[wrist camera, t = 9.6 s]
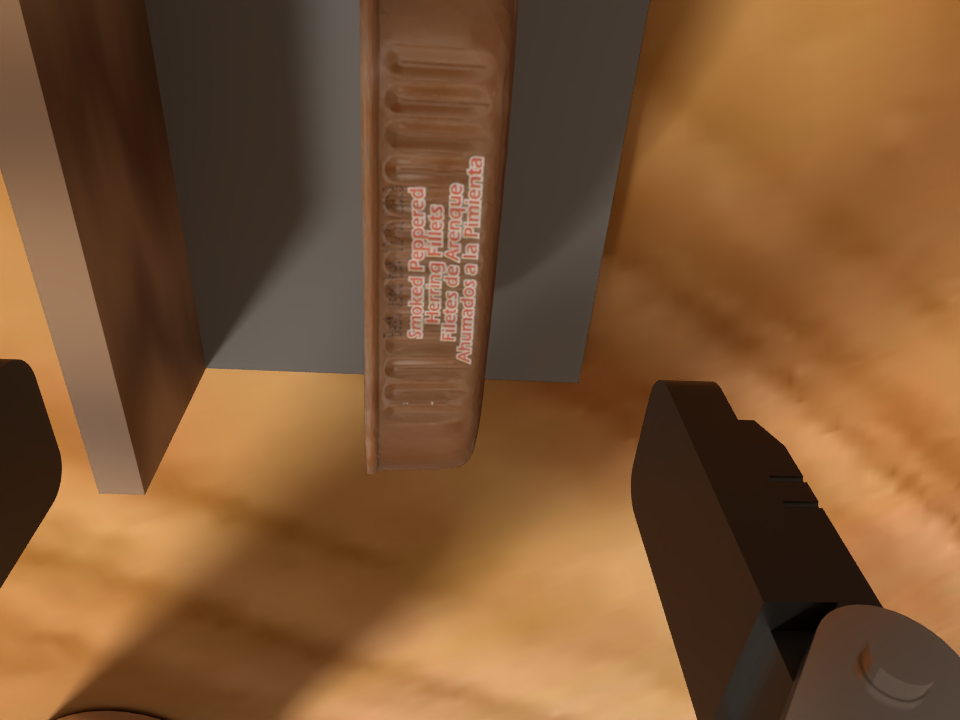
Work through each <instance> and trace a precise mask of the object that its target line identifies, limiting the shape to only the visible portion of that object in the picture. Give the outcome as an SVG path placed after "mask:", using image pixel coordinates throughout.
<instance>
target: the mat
mask: <svg viewBox="0 0 960 720" xmlns="http://www.w3.org/2000/svg"><path fill="white" fill-rule="evenodd" d="M649 2H650V0H518V18H517V35H516V52H515V67H514V78H513V88H512V99H511V112H510V124H509V136H508V151H507V161H506V170H505V179H504V193H503V206H502V216H501V226H500V236H499V247H498V257H497V267H496V277H495V289H494V298H493V307H492V315H491V328H490V336H489V344H488V352H487V364H486V372H485V379H493V380H518V381H543V382H568V383H579V379H580V374H581V369H582V363H583V358H584V352H585V347H586V342H587V336H588V331H589V325H590V320H591V315H592V309H593V304H594V298H595V293H596V288H597V282H598V277H599V271H600V266H601V261H602V255H603V250H604V245H605V239H606V234H607V228H608V223H609V218H610V212H611V207H612V201H613V196H614V191H615V185H616V180H617V174H618V169H619V164H620V158H621V153H622V147H623V142H624V137H625V131H626V126H627V121H628V115H629V110H630V104H631V99H632V94H633V88H634V83H635V77H636V72H637V67H638V61H639V56H640V50H641V45H642V40H643V34H644V29H645V23H646V18H647V13H648V7H649ZM145 6H146V12H147V18H148V24H149V30H150V36H151V42H152V48H153V54H154V60H155V66H156V72H157V78H158V84H159V90H160V96H161V102H162V108H163V114H164V120H165V126H166V132H167V138H168V144H169V150H170V156H171V162H172V168H173V174H174V180H175V186H176V192H177V198H178V204H179V210H180V216H181V222H182V228H183V234H184V240H185V246H186V252H187V258H188V264H189V270H190V276H191V281H192V287H193V293H194V299H195V305H196V311H197V317H198V323H199V329H200V335H201V341H202V347H203V353H204V359H205V365H206V368H217V369H242V370H267V371H292V372H317V373H342V374H365V365H364V303H363V240H362V228H363V227H362V187H361V172H362V161H361V96H360V33H359V26H360V9H359V0H145Z"/></svg>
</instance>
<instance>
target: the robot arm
mask: <svg viewBox="0 0 960 720" xmlns="http://www.w3.org/2000/svg"><path fill="white" fill-rule="evenodd" d="M61 474H62V462H61V455H60V451H59V448H58V445H57V442H56V439H55V436H54V433H53V430H52V427H51V423H50V420H49V417H48V414H47V411H46V408H45V405H44V402H43V399H42V396H41V393H40V390H39V387H38V383H37V380H36V377H35V375H34V372H33V370H32V369H31V367H30V366H29V365H28V364H27V363H26V362H25V361H22V360H17V359H0V588H1V586H2V585H3V583H4V582H5V580H6V578H7V577H8V575H9V574H10V572H11V570H12V569H13V567H14V565H15V564H16V562H17V561H18V559H19V557H20V556H21V554H22V553H23V551H24V549H25V548H26V546H27V544H28V543H29V541H30V540H31V538H32V536H33V535H34V533H35V532H36V530H37V528H38V527H39V525H40V523H41V522H42V520H43V519H44V517H45V515H46V514H47V512H48V511H49V509H50V507H51V506H52V504H53V502H54V500H55V498H56V496H57V493H58V490H59V486H60V482H61ZM631 497H632V505H633V511H634V514H635V518H636V521H637V524H638V528H639V531H640V534H641V537H642V541H643V544H644V547H645V550H646V554H647V557H648V560H649V563H650V567H651V570H652V573H653V577H654V580H655V583H656V586H657V590H658V593H659V596H660V599H661V603H662V606H663V609H664V612H665V616H666V619H667V622H668V625H669V629H670V632H671V635H672V639H673V642H674V645H675V648H676V652H677V655H678V658H679V661H680V665H681V668H682V671H683V674H684V678H685V681H686V684H687V687H688V691H689V694H690V697H691V701H692V704H693V707H694V710H695V714H696V717H697V720H960V657H959V656H958V655H957V654H956V652H955V651H954V650H953V649H952V648H951V647H949V646H948V645H947V644H946V643H945V642H944V641H943V640H942V639H941V638H939V637H938V636H937V635H936V634H934V633H933V632H932V631H930V630H929V629H927V628H926V627H924V626H923V625H921V624H920V623H918V622H916V621H914V620H912V619H910V618H908V617H906V616H904V615H902V614H899V613H897V612H894V611H891V610H888V609H885V608H883V607H882V605H881V604H880V602H879V600H878V599H877V597H876V595H875V594H874V592H873V590H872V589H871V587H870V585H869V584H868V582H867V581H866V579H865V577H864V576H863V574H862V572H861V571H860V569H859V567H858V566H857V564H856V562H855V561H854V559H853V558H852V556H851V554H850V553H849V551H848V549H847V548H846V546H845V544H844V543H843V541H842V539H841V538H840V536H839V535H838V533H837V531H836V530H835V528H834V526H833V525H832V523H831V521H830V520H829V518H828V516H827V515H826V513H825V511H824V510H823V508H819V507H818V500H817V498H816V497H815V495H814V493H813V492H812V490H811V488H810V487H809V485H808V484H807V482H803V475H802V474H801V472H800V470H799V469H798V467H797V465H796V464H795V462H794V461H793V459H792V457H791V456H790V454H789V452H788V451H787V449H786V447H785V446H784V445H783V444H781V443H780V442H779V441H778V440H777V439H776V438H774V437H773V436H772V435H771V434H770V433H768V432H767V431H766V430H765V429H764V428H763V427H761V426H760V425H759V424H758V423H757V422H755V421H754V420H738V419H737V417H736V415H735V413H734V412H733V410H732V408H731V406H730V404H729V403H728V401H727V399H726V397H725V395H724V394H723V392H722V390H721V388H720V387H719V385H718V384H717V383H715V382H703V381H669V380H659V381H657V382H656V383H655V384H654V386H653V388H652V391H651V394H650V398H649V402H648V406H647V410H646V414H645V418H644V422H643V426H642V431H641V435H640V439H639V443H638V447H637V451H636V455H635V460H634V464H633V468H632V476H631ZM57 720H160V719H156V718H153V717H149V716H146V715H140V714H135V713H129V712H118V711H92V712H83V713H78V714H72V715H68V716H66V717H63V718H60V719H57Z"/></svg>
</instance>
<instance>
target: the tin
mask: <svg viewBox="0 0 960 720" xmlns="http://www.w3.org/2000/svg"><path fill="white" fill-rule="evenodd" d="M359 9H360V26H359V33H360V96H361V161H362V172H361V187H362V227H363V228H362V240H363V303H364V365H365V379H364V385H365V443H366V465H367V473H368V474H375V473H376V472H378V471H381V470H429V469H446V468H454V467H459V466H461V465H463V464H465V463H466V462H467V461H468V460H469V458H470V457H471V455H472V453H473V450H474V446H475V442H476V438H477V433H478V427H479V422H480V415H481V408H482V400H483V392H484V381H485V372H486V364H487V352H488V344H489V336H490V328H491V315H492V307H493V298H494V289H495V277H496V267H497V257H498V247H499V236H500V226H501V216H502V206H503V193H504V179H505V170H506V161H507V151H508V136H509V124H510V112H511V99H512V88H513V78H514V67H515V52H516V35H517V18H518V0H359Z"/></svg>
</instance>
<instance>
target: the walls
mask: <svg viewBox="0 0 960 720" xmlns="http://www.w3.org/2000/svg"><path fill="white" fill-rule="evenodd" d="M0 169H1V172H2V175H3V178H4V182H5V185H6V188H7V192H8V195H9V198H10V202H11V205H12V208H13V211H14V215H15V218H16V221H17V225H18V228H19V231H20V235H21V238H22V241H23V244H24V248H25V251H26V254H27V258H28V261H29V264H30V268H31V271H32V274H33V277H34V281H35V284H36V287H37V291H38V294H39V297H40V301H41V304H42V307H43V310H44V314H45V317H46V320H47V324H48V327H49V330H50V334H51V337H52V340H53V343H54V347H55V350H56V353H57V357H58V360H59V363H60V366H61V370H62V373H63V376H64V380H65V383H66V386H67V390H68V393H69V396H70V399H71V403H72V406H73V409H74V413H75V416H76V419H77V423H78V426H79V429H80V432H81V436H82V439H83V442H84V446H85V449H86V452H87V456H88V459H89V462H90V465H91V469H92V472H93V475H94V479H95V482H96V485H97V489H98V492H99V494H132V495H145V493H146V491H147V489H148V487H149V485H150V483H151V481H152V479H153V477H154V475H155V473H156V471H157V469H158V466H159V464H160V462H161V460H162V458H163V456H164V454H165V452H166V450H167V448H168V446H169V444H170V442H171V440H172V437H173V435H174V433H175V431H176V429H177V427H178V425H179V423H180V421H181V419H182V417H183V415H184V413H185V411H186V408H187V406H188V404H189V402H190V400H191V398H192V396H193V394H194V392H195V390H196V388H197V386H198V384H199V381H200V379H201V377H202V375H203V373H204V371H205V369H206V365H205V359H204V353H203V347H202V341H201V335H200V329H199V323H198V317H197V311H196V305H195V299H194V293H193V287H192V281H191V276H190V270H189V264H188V258H187V252H186V246H185V240H184V234H183V228H182V222H181V216H180V210H179V204H178V198H177V192H176V186H175V180H174V174H173V168H172V162H171V156H170V150H169V144H168V138H167V132H166V126H165V120H164V114H163V108H162V102H161V96H160V90H159V84H158V78H157V72H156V66H155V60H154V54H153V48H152V42H151V36H150V30H149V24H148V18H147V12H146V6H145V0H0Z"/></svg>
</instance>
